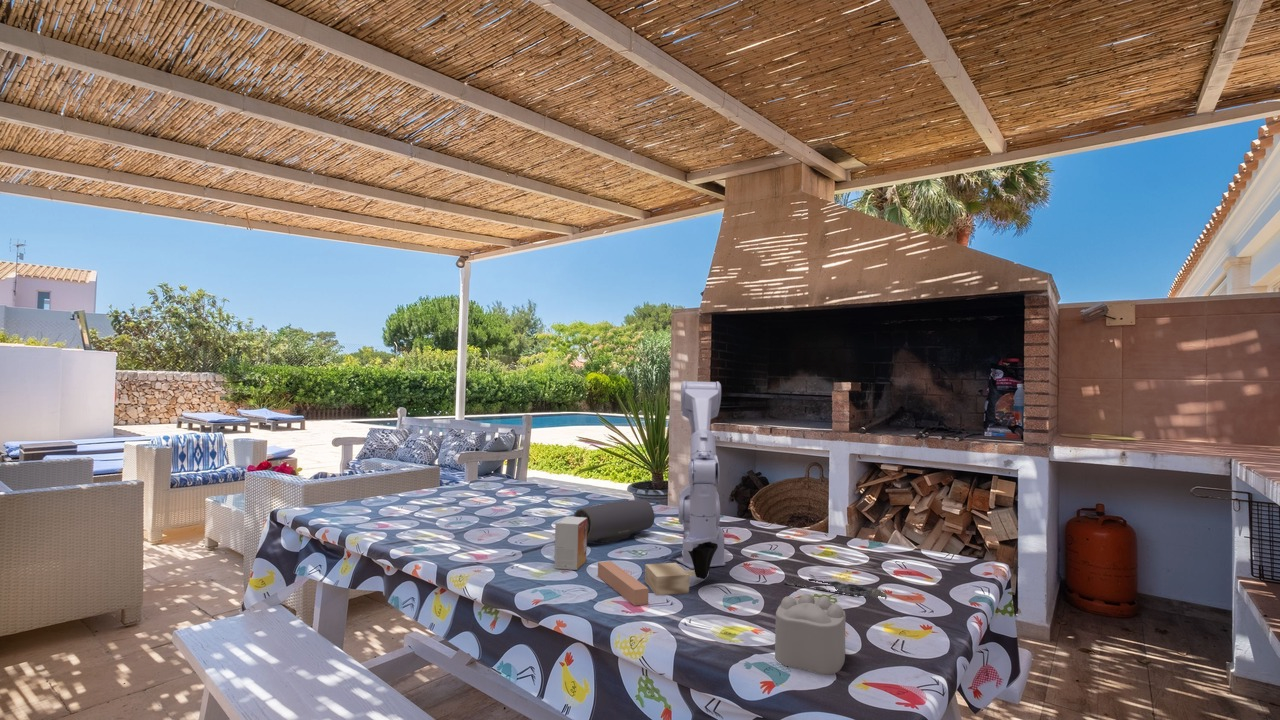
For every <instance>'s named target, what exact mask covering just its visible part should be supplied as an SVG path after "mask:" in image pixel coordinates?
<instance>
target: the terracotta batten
mask: <svg viewBox="0 0 1280 720" xmlns="http://www.w3.org/2000/svg"><path fill="white" fill-rule="evenodd" d="M597 577H599V578H600V580H602V581H603V582H605V583H606V585H608V586H609V587H610V588H612V589H613V590H614V591H616V592H617V593H618V594H619V595H620V596H621V597H622V598H624V599H625V600H626V601H628V602H629V603H630V604H631V605H632V606H634V607H635V606H642V605H648V604H649V588H650V587H647V586H646V585H645V584H643V583H642V582H641V581H639V580H638V579H636V578H635V577H634V576H632V575H631V574H629V573H628V572H626V571H625V570H624V569H622V568H621V567H620V566H618V565H617V564H616V563H614V562H612V560H609V561H607V560H606V561H599V562H597Z"/></svg>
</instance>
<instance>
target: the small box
mask: <svg viewBox="0 0 1280 720" xmlns="http://www.w3.org/2000/svg"><path fill="white" fill-rule="evenodd" d="M587 520H588V518H584V517H574V516H565V517H563V518H562V519H561V520H559V521H557V522H556V523H555V529H554V530H555V531H554V566H553V569H555V570H557V569H559V570H570V571H578V570H579V569H580V568H581V567H582V565H584V564H585V563H586V562H587V551H588V550H587V549H588V546H587V545H588V541H587Z"/></svg>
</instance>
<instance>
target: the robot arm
mask: <svg viewBox="0 0 1280 720" xmlns="http://www.w3.org/2000/svg"><path fill="white" fill-rule="evenodd" d="M680 383H681V384H680V412H681V415H682V416H683V417H685V418H686V419H688V421H689V426H690V438H689V440H690V442H689V444H690V448H689V449H690V461H688V462H689V463H688V483H689V484H688V485H687V486H685V487H684V488H683V489H681V490H680V492H679V497H678V499H679V500H678V522H679V524H680V525H683V540H682V549H681V550H682V557H677V558H676V559H675V561H677V562H679V563H680V564H682V565H683V566H685V567H687V568H688V569H691V570H694V574H695V577H696V578H697V579H700V580H701V579H702V580H706V579H707V578H708V575H709V571H710V569H711V568H712V567H714V568H715V567H723V566H726V562H725V534H724V530H723V528H722V527H721V526H720V525H719V524H720V521H721V503H720V494H719V492H718V490H717V486H719V482H720V464H719V462H720V461H719V459H718V455H717V449H716V445H717V444H716V436H715V435H714V433H712V432H711V420H712V419H714V418H716V417H718V415H719V413H720V412H719V411H720V407H721V403H722V401H721V400H722V384H721V383H720V381H690V380H687V381H686V380H682V382H680Z"/></svg>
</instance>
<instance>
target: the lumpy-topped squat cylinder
mask: <svg viewBox="0 0 1280 720" xmlns="http://www.w3.org/2000/svg"><path fill="white" fill-rule="evenodd" d="M846 615H847V614H846V611H845V610H844V609H843V607H842V606H840V605H839V604H837V603H834V602H832V601H831V600H830V598H829V597H827V596H825V595H823V596H820V597H814V596H813V595H812V594H810V593H804V594H802V595H801V596H800V597H795V598H794V597H793V596H789V595H787V596H785V597H783V598H782V599H781V602H780V604H779V606H778V607H777V609H776V612H775V628H774V630H775V633H774V634H775V636H774V638H775V639H774V640H775V642H774V660H775V659H776V660H777V661H778V662H779V663H781V664H783V665H785V666H784V667H786V666H788V667H787V668H791V667H792V669H800V670H804V671H807V670H808V671H809V672H811V673H814V672H815V674H820V675H833V674H836V673H838V672H840V670H841V669H842V667H843V666H844V664H845V660H846V619H847V617H846ZM776 660H775V661H776ZM777 661H776V662H777ZM778 662H777V663H778ZM779 663H778V664H779ZM781 664H780V665H781ZM783 665H782V666H783Z"/></svg>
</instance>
